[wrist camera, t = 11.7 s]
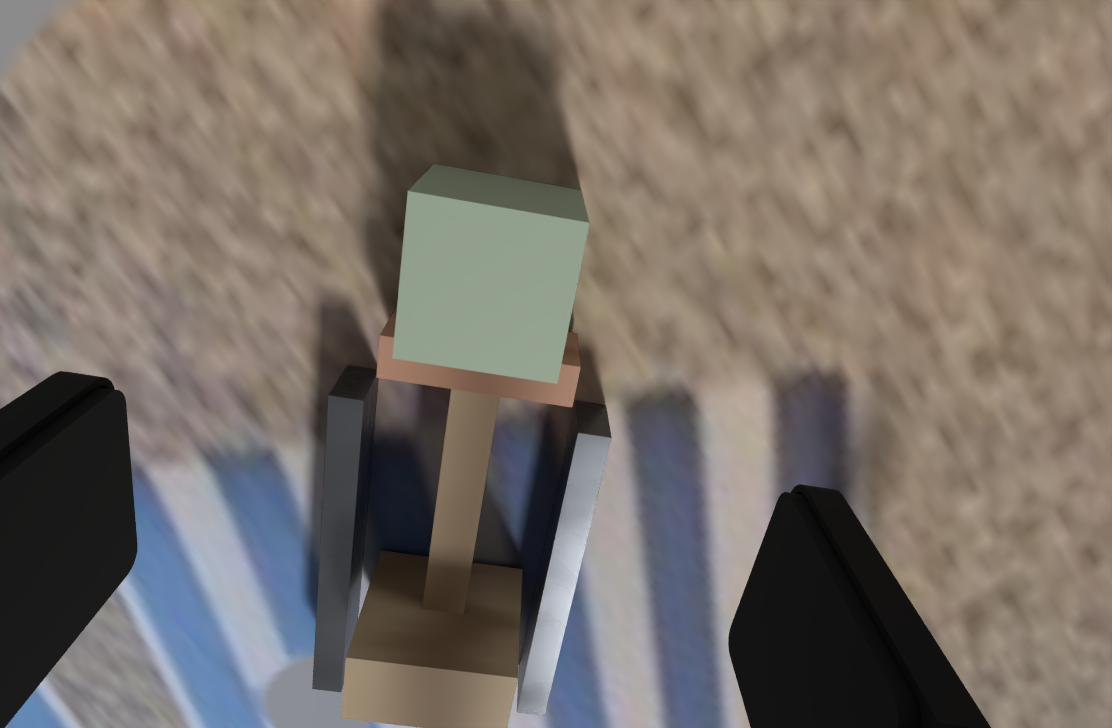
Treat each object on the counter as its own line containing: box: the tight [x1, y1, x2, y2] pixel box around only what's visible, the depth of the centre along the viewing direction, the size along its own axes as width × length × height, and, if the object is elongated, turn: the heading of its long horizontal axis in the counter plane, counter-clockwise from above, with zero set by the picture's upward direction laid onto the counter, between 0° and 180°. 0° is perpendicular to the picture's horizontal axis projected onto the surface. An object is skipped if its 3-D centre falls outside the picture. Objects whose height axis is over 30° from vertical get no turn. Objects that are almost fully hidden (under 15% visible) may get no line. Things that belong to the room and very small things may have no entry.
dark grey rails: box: [313, 366, 611, 715], centre depth 29 cm, size 10×14×2 cm
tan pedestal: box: [341, 306, 581, 728], centre depth 26 cm, size 6×14×6 cm, turn 170°
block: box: [392, 164, 589, 384], centre depth 23 cm, size 5×5×5 cm
